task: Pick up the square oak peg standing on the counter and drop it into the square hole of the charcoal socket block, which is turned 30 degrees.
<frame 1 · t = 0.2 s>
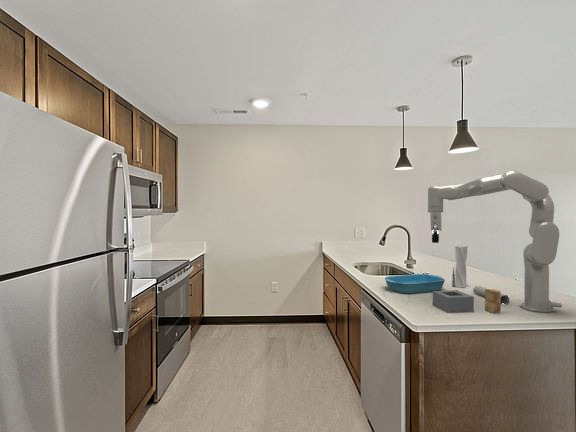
hand: (435, 241, 178), 31 cm above the worktop, tool pointing down, fingers open, 9 cm apart
skyscraper: (460, 287, 210), on the worktop
tube: (489, 299, 181), on the worktop
socket: (452, 308, 163), on the worktop
casserole dish: (414, 289, 204), on the worktop
peg: (492, 311, 157), on the worktop
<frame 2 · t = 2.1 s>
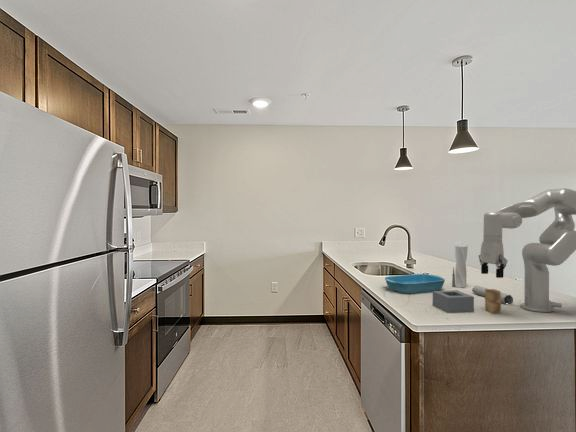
hand: (491, 275, 157), 17 cm above the worktop, tool pointing down, fingers open, 9 cm apart
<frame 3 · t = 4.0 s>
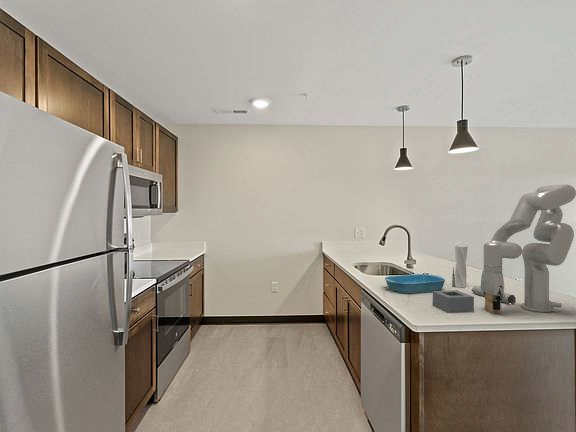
hand: (492, 307, 157), 2 cm above the worktop, tool pointing down, fingers closed on peg, 4 cm apart
peg: (492, 311, 157), on the worktop, touching gripper
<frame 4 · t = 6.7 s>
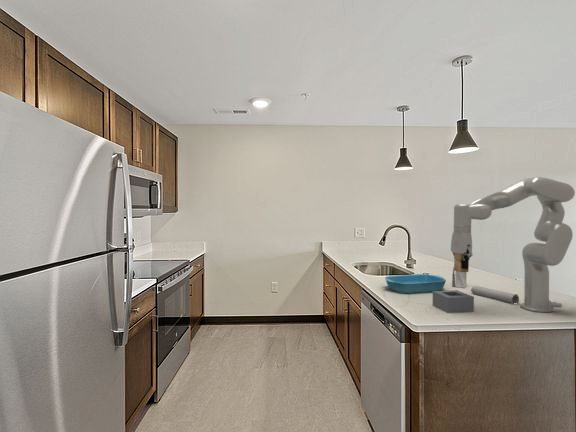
hand: (461, 267, 161), 20 cm above the worktop, tool pointing down, fingers closed on peg, 4 cm apart
peg: (461, 271, 161), point 18 cm above the worktop, touching gripper
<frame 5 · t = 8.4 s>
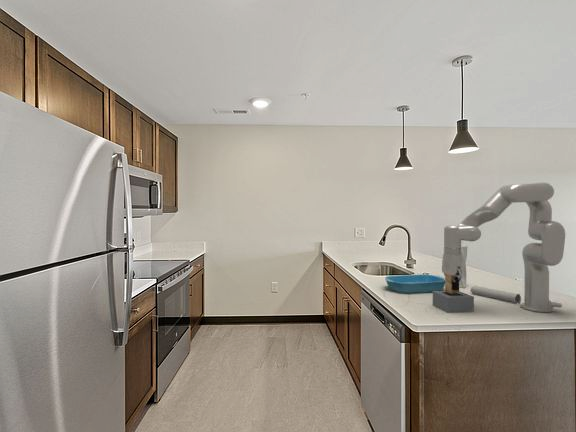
hand: (452, 288, 163), 10 cm above the worktop, tool pointing down, fingers closed on peg, 4 cm apart
peg: (452, 292, 163), point 8 cm above the worktop, touching gripper
when the fingers open (8 cm above the worktop, at t = 9.4 s): peg drops 5 cm, resting on socket.
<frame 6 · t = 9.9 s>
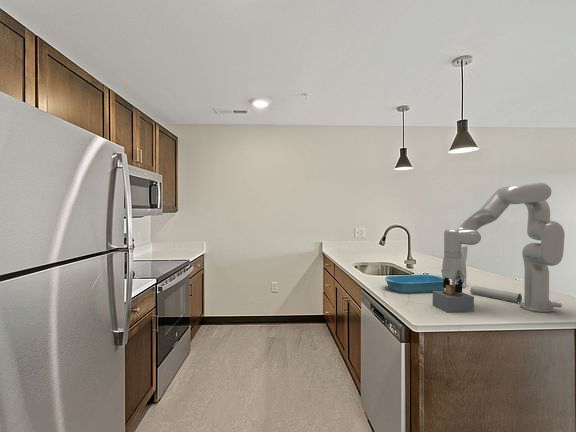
hand: (452, 290, 163), 9 cm above the worktop, tool pointing down, fingers open, 9 cm apart
peg: (452, 306, 163), point 1 cm above the worktop, touching socket
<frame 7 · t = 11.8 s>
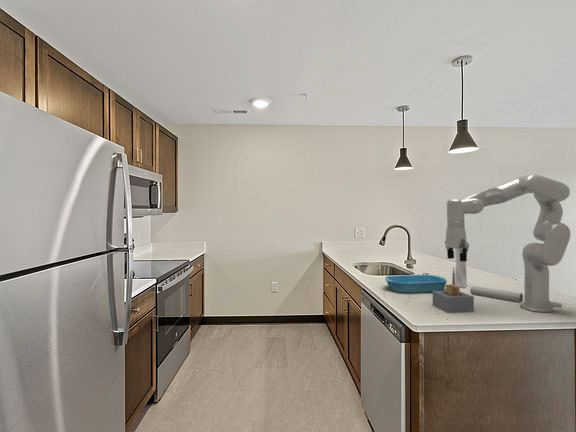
hand: (456, 259, 164), 23 cm above the worktop, tool pointing down, fingers open, 9 cm apart
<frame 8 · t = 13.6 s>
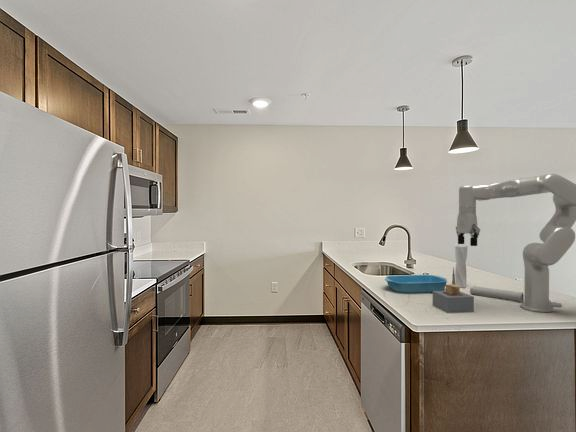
hand: (467, 244, 167), 30 cm above the worktop, tool pointing down, fingers open, 9 cm apart
at the end: peg 0.0 cm off-centre on the socket, point 1.0 cm above the socket's base; peg tilted 0°; the gripper is holding nothing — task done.
